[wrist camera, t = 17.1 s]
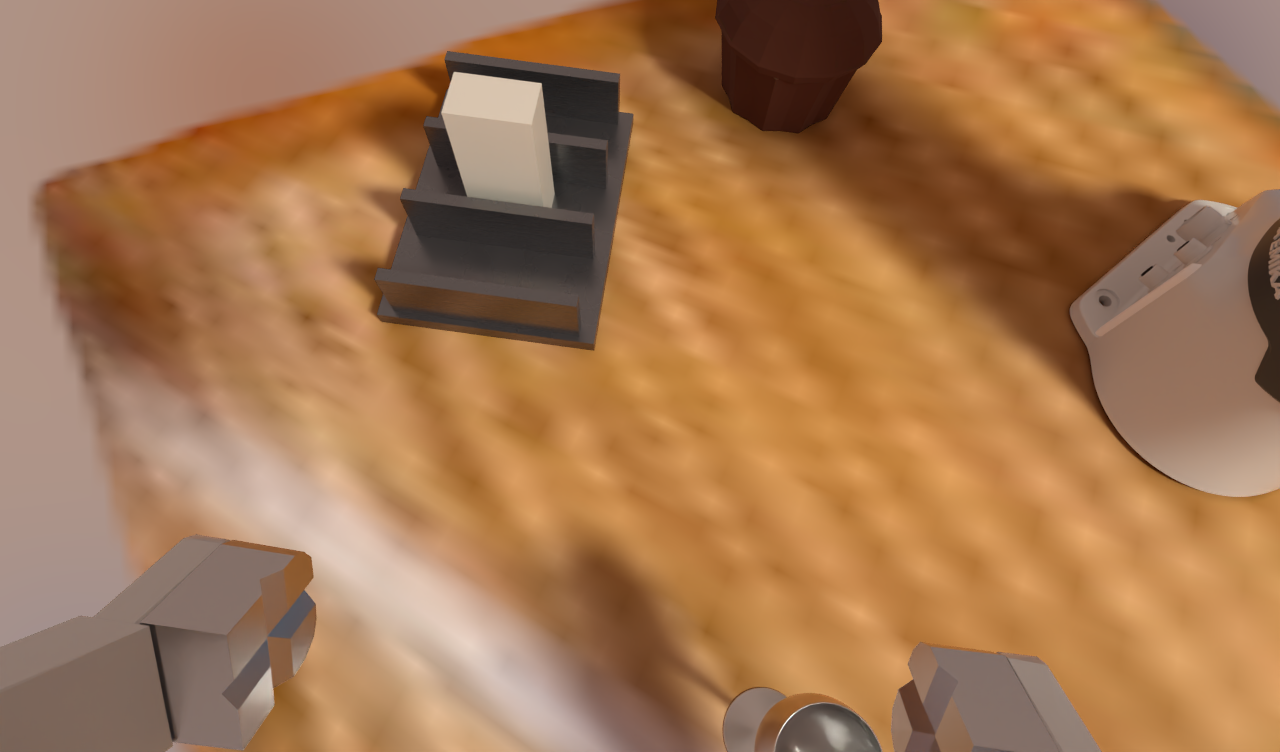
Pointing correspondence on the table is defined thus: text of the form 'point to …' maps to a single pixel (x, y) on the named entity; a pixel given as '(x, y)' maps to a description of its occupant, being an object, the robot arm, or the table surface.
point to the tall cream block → (500, 138)
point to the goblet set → (794, 724)
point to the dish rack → (516, 222)
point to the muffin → (793, 56)
